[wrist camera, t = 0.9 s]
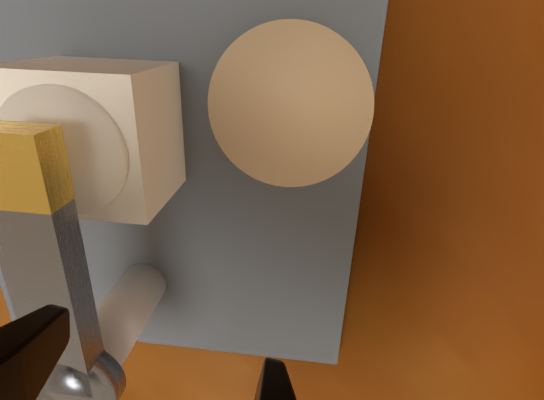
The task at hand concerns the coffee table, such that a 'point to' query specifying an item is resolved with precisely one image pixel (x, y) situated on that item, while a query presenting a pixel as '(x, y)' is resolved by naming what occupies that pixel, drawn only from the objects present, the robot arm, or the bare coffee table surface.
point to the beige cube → (106, 128)
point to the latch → (51, 257)
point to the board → (231, 167)
